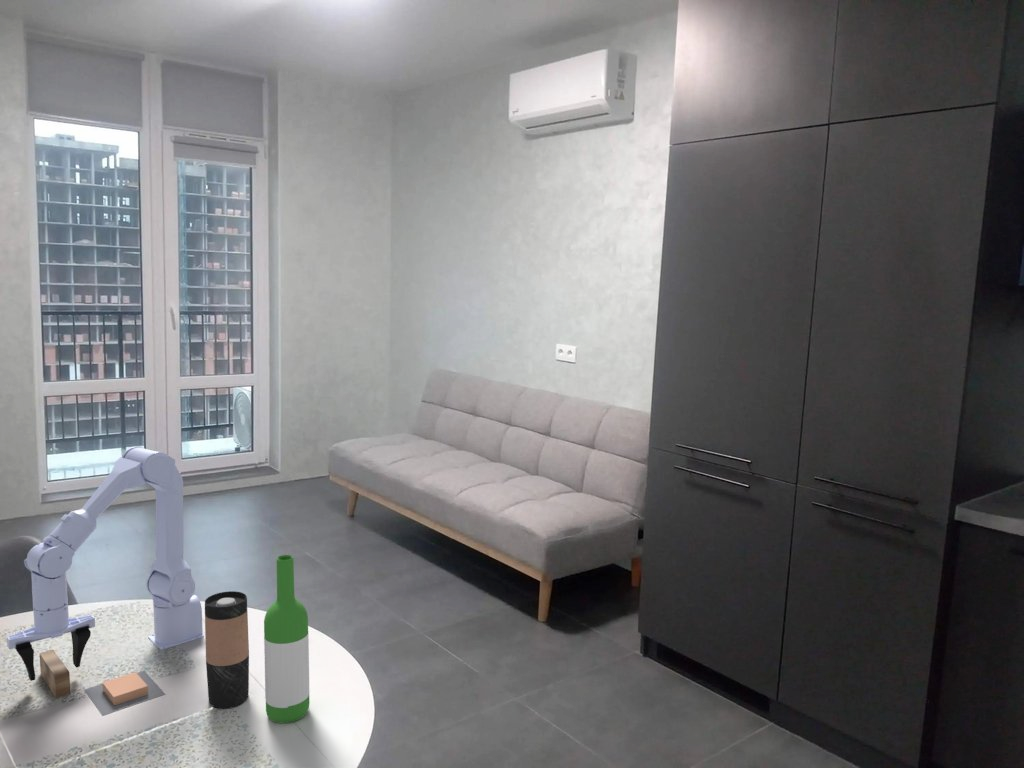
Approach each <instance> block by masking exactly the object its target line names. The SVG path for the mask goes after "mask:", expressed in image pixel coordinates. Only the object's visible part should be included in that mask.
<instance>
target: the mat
mask: <svg viewBox="0 0 1024 768" xmlns="http://www.w3.org/2000/svg"><path fill="white" fill-rule="evenodd" d="M136 673H137V674H138V675H139V677H140V678H141V679H142V680H143V681H144V682H145V683H146V684H147V686H148V694H147V695H144V696H141V697H138V698H135V699H132V700H129V701H126V702H123V703H120V704H117V705H114V704H113V703H112V702H111V701H110V699H109V698H108V697H107V695H106V694H105V693H104V691H103V686H102V683H101V684H97V685H95V686H92V687H88V688H85V689H83V690H84V692H85V694H86V695H87V696H88V697H89V699H90V700H91V702H92V703H93V704H94V707H96V708H97V710H98V712H99V714H101V716H102V717H103V716H107V715H109V714H112V713H114V712H119V711H121V710H124V709H127V708H130V707H132V706H136V705H139V704H141V703H144V702H147V701H151V700H153V699H157V698H159V697H162V696H165V695H166V693H165V692H164V691H163V689H161V687H159V685H158V684H157V683H156V682H155V681H154V679H152V678H151V676H150V675H149V674H148V673H147V672H146V671H145V670H142V671H138V672H136Z"/></svg>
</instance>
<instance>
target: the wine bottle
mask: <svg viewBox="0 0 1024 768" xmlns="http://www.w3.org/2000/svg"><path fill="white" fill-rule="evenodd" d="M294 566H295V565H294V556H293V555H291V554H290V555H289V554H283V555H280V556H278V557H277V558H276V600H275V601H273V603H271V605H270V606H269V607H268V608H267V611H266V613H265V615H264V620H263V628H264V629H263V632H264V634H263V641H264V642H263V643H264V644H263V645H264V649H263V650H264V651H263V652H264V687H265V688H264V692H265V695H264V696H265V697H264V699H265V712H266V716H267V718H268V719H269V720H271V721H272V722H274V723H278V724H286V723H287V724H288V723H292V722H293V723H294V722H297V721H298V720H300V719H302V718H303V717H305V716H306V714H307V713H308V712H309V709H310V657H309V656H310V653H309V652H310V649H309V648H310V647H309V642H310V641H309V640H310V639H309V615H308V611H307V609H306V607H305V605H304V604H303V603H302V602H301V601H300V600H298V599H296V597H295V569H294Z"/></svg>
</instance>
